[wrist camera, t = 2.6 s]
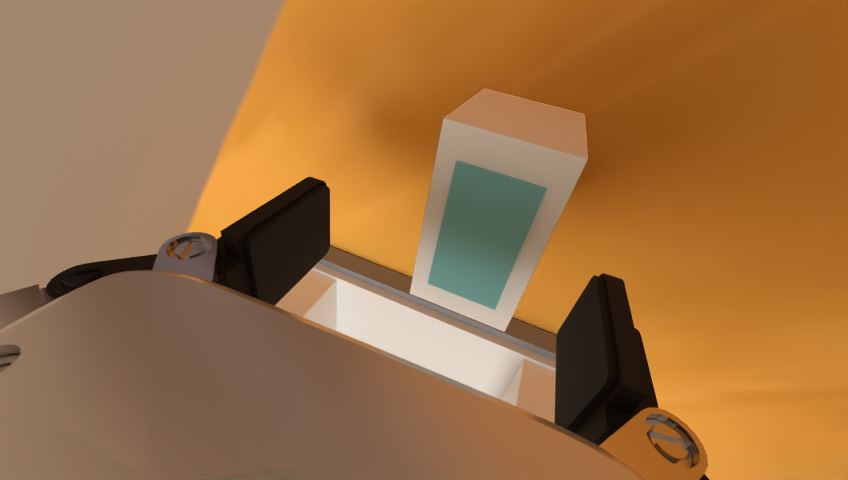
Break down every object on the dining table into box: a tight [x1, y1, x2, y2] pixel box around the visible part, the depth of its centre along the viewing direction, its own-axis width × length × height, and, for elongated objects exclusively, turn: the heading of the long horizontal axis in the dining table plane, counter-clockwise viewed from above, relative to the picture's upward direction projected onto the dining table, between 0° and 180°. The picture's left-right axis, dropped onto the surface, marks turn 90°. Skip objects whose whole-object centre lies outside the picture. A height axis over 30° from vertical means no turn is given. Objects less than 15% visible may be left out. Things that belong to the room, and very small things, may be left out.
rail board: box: [275, 246, 557, 423], centre depth 23 cm, size 24×10×7 cm, turn 80°
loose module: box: [410, 88, 588, 332], centre depth 15 cm, size 4×8×6 cm, turn 170°
